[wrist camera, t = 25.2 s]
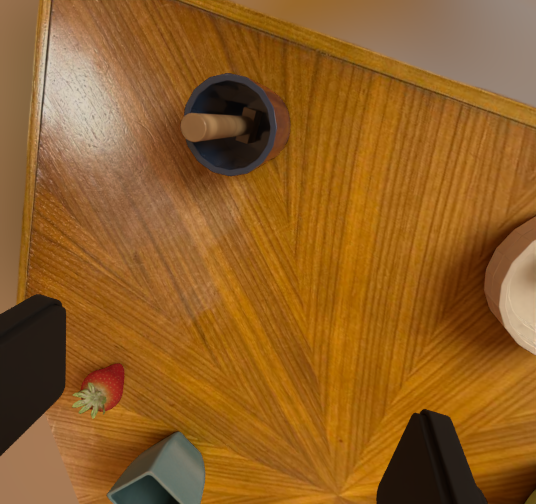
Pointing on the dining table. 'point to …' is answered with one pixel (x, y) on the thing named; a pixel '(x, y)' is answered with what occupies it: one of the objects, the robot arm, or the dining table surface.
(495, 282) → the bowl
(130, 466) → the flower pot
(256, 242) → the dining table surface
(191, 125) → the stirring stick
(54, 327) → the robot arm
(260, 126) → the holder
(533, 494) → the teapot
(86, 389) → the fruit
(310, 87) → the dining table surface
